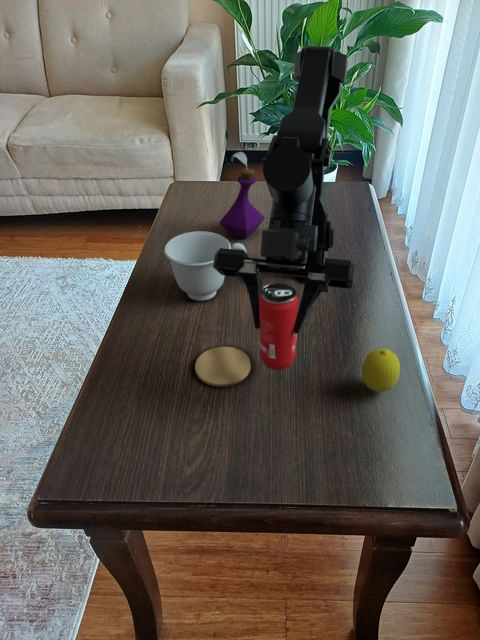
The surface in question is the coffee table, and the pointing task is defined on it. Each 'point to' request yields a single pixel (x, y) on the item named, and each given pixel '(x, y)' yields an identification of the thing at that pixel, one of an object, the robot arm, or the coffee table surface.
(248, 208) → the perfume bottle
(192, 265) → the teacup
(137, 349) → the coffee table surface
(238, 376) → the trivet
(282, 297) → the beverage can
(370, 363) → the lemon
